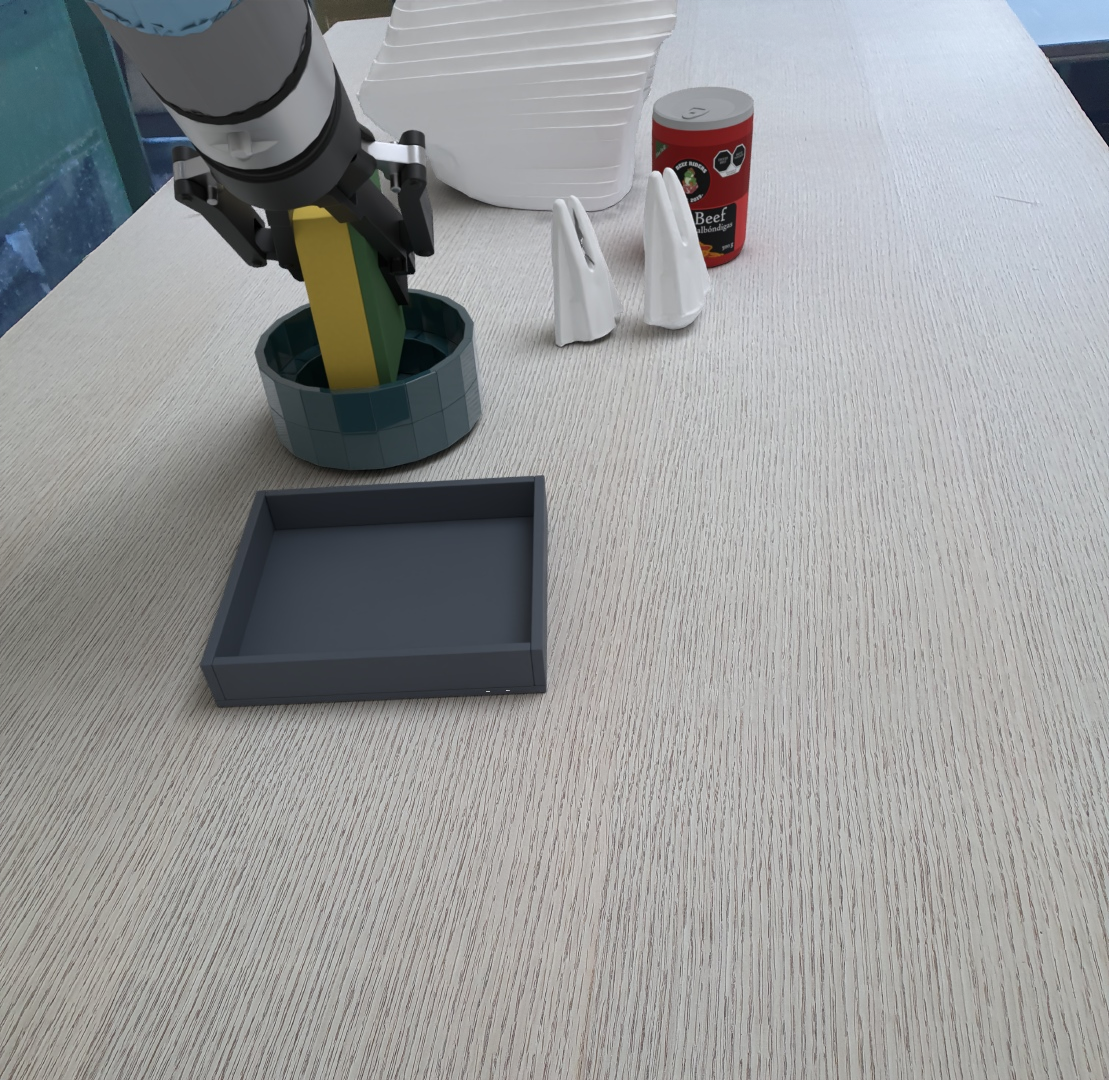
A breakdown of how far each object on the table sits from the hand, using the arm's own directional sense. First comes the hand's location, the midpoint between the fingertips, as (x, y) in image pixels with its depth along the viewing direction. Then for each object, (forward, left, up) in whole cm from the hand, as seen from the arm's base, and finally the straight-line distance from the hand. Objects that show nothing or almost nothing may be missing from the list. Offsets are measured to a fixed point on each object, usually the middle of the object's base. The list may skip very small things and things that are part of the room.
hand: (367, 286), depth 72 cm
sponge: (0, -4, -3) cm, 5 cm away
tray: (+3, -24, -7) cm, 26 cm away
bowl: (0, -4, -7) cm, 9 cm away
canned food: (+24, +20, -8) cm, 32 cm away
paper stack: (+10, +39, -8) cm, 41 cm away
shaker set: (+18, +7, -8) cm, 21 cm away
